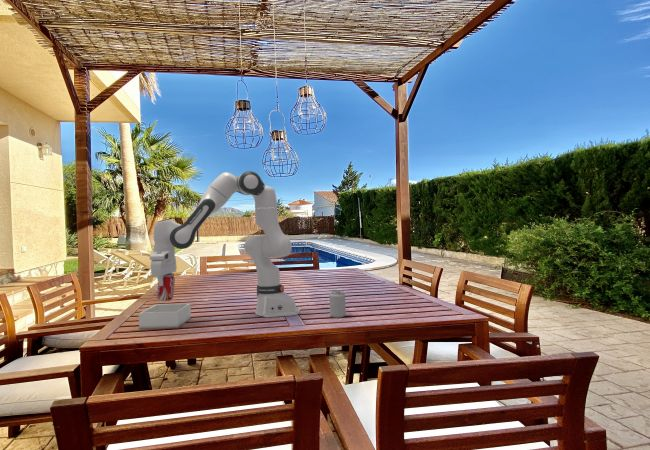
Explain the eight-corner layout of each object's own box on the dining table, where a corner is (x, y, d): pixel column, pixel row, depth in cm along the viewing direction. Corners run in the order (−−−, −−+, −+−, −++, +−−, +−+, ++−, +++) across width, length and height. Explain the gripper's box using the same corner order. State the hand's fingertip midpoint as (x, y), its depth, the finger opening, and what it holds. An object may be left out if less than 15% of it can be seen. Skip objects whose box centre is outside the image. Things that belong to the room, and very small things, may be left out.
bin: (191, 317, 183) (190, 303, 183) (177, 327, 166) (177, 312, 166) (155, 318, 182) (155, 304, 182) (139, 328, 165) (138, 313, 165)
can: (347, 314, 182) (346, 290, 182) (343, 318, 175) (342, 293, 175) (332, 313, 184) (332, 289, 184) (327, 317, 177) (327, 292, 177)
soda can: (166, 303, 170) (169, 277, 169) (153, 300, 172) (155, 274, 171) (176, 299, 177) (178, 274, 176) (162, 296, 178) (165, 272, 178)
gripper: (166, 252, 184) (167, 280, 184) (147, 256, 163) (148, 288, 164) (179, 252, 184) (180, 280, 184) (162, 256, 164) (163, 287, 164)
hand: (165, 284), depth 174 cm, fingers closed on soda can, 7 cm apart
